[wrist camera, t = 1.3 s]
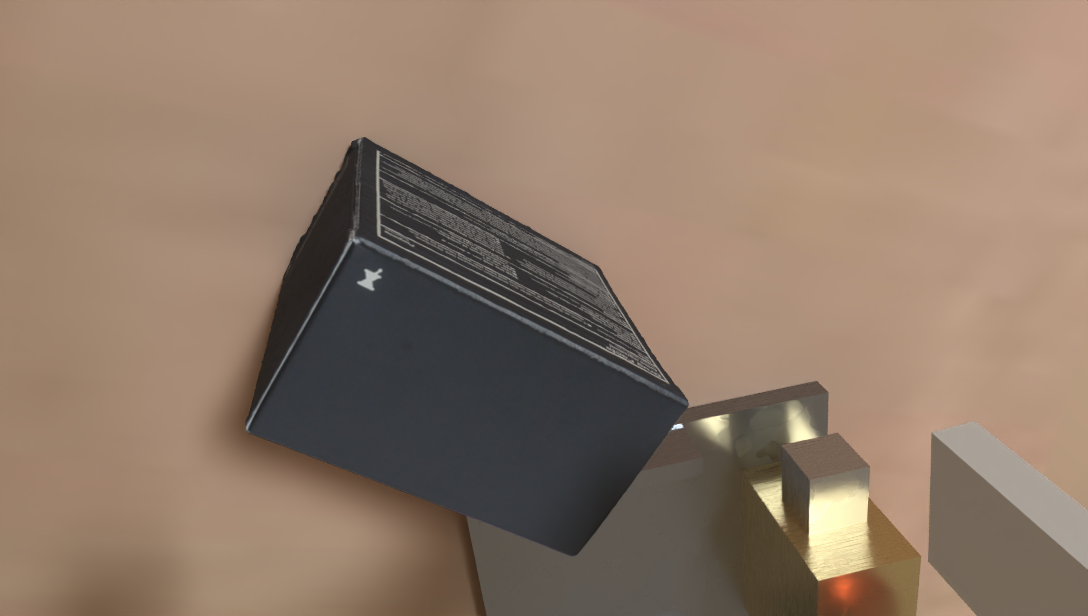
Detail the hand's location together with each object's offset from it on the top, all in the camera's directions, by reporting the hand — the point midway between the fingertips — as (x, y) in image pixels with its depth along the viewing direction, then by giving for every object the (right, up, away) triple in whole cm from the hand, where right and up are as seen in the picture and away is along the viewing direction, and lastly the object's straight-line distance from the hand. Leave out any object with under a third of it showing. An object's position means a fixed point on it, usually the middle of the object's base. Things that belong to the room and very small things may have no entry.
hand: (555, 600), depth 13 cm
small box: (-4, +6, +18) cm, 19 cm away
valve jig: (+5, -6, +25) cm, 26 cm away
